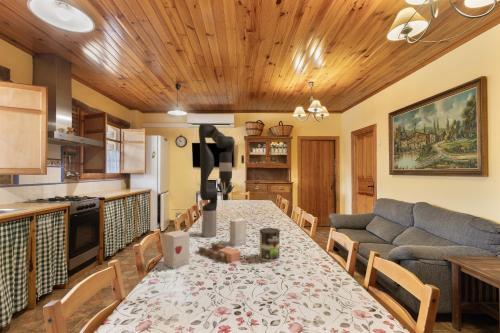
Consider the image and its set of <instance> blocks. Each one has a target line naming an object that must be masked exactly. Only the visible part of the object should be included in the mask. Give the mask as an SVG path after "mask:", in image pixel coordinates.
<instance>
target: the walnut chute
mask: <svg viewBox="0 0 500 333" xmlns="http://www.w3.org/2000/svg"><path fill="white" fill-rule="evenodd" d="M223 248H226V246H223V245H221V244H217V243H215V242H214V243H211V249H209V248H207V247H206V248H205V247H203V246H199V247H198V253H200V254H203V255H204V256H206V257H209V258H212V259H215V260H217V261H219V262H226V261H225V255H226V254H225V253H221V254H220V253H218V250H220V249H223ZM233 249H234V250H237V251H239V249H237V248H233ZM216 251H217V252H216Z"/></svg>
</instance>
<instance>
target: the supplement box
mask: <svg viewBox="0 0 500 333" xmlns="http://www.w3.org/2000/svg"><path fill="white" fill-rule="evenodd" d="M162 264H163V265H164V264H165V265H164V266H166V265H167V266H166V267H168V266H169V267H168V268H170V267H171V268H170V269H172V268H173V269H172V270H175V269H178V268H182V267H185V266H187V265H189V264H190V233H189V232H187V231H183V230H174V231H170V232H164V233H163V262H162ZM184 265H185V266H184ZM181 266H182V267H181ZM177 267H178V268H177ZM174 268H175V269H174Z"/></svg>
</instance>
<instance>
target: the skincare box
mask: <svg viewBox="0 0 500 333" xmlns="http://www.w3.org/2000/svg"><path fill="white" fill-rule="evenodd" d="M246 235H247V220H246V219H244V218H241V217H240V218H236V219H230V220H229V245H231V246H234V247H238V246H243V245H246V244H247V236H246Z"/></svg>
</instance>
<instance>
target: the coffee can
mask: <svg viewBox="0 0 500 333" xmlns="http://www.w3.org/2000/svg"><path fill="white" fill-rule="evenodd" d="M280 233H281V232H280V229H278V228H274V227H265V228H261V229H259V259H260V260H262V261H265V262H275V261H279V259H280Z"/></svg>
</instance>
